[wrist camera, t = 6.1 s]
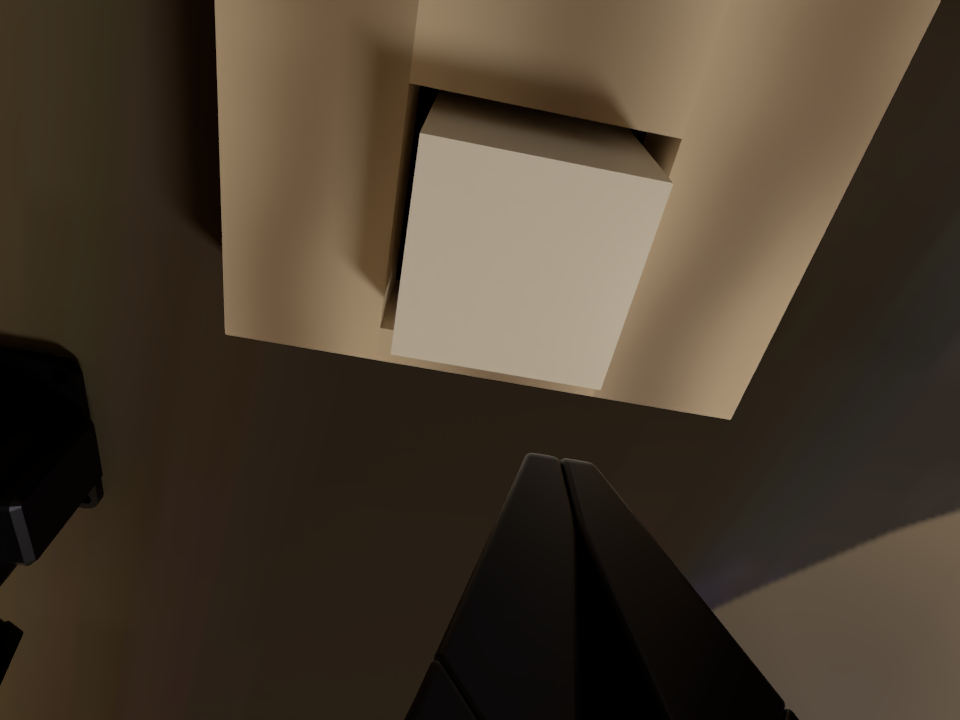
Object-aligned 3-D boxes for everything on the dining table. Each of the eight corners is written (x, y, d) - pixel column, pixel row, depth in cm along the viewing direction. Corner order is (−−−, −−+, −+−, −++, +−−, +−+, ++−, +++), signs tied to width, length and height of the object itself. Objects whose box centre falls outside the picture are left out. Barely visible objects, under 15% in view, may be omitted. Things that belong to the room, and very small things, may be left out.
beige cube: (414, 266, 19) (390, 354, 15) (439, 89, 16) (419, 132, 12) (577, 296, 19) (600, 390, 15) (628, 127, 17) (673, 183, 12)
